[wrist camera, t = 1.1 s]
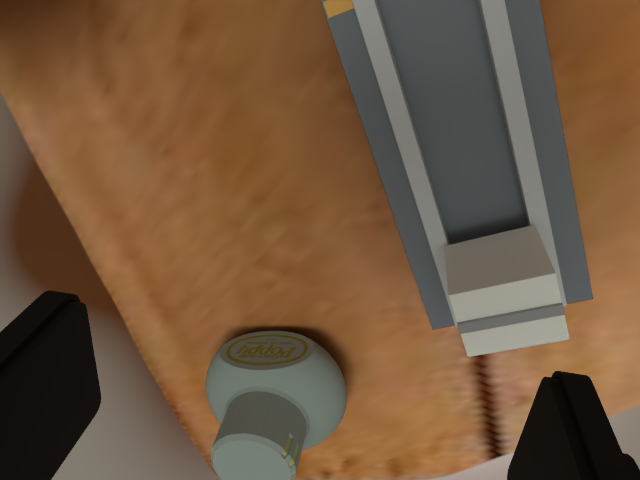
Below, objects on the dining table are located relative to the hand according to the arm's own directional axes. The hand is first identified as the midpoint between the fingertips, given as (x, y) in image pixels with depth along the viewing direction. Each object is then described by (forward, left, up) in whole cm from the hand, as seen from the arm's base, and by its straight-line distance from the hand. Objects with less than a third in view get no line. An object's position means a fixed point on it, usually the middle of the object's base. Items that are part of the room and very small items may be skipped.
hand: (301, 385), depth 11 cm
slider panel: (-4, +2, -24) cm, 25 cm away
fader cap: (-4, +10, -21) cm, 24 cm away
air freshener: (+14, +18, -25) cm, 34 cm away
